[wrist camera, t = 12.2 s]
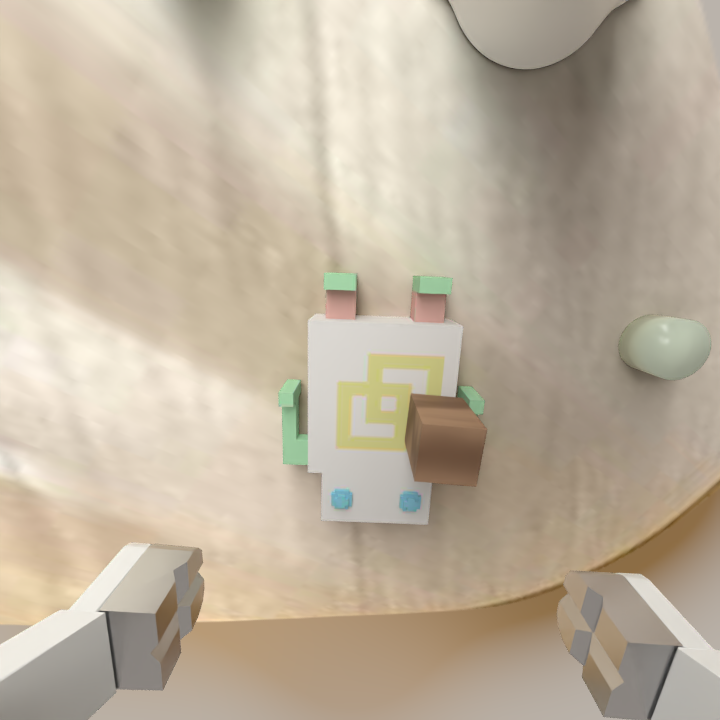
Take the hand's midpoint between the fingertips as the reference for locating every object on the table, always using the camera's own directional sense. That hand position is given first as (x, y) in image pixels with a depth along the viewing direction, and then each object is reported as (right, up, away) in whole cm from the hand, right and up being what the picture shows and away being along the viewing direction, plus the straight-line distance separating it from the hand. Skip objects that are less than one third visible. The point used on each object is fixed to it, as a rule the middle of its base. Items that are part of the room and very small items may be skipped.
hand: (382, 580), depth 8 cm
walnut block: (+7, -1, +27) cm, 27 cm away
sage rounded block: (+30, +7, +30) cm, 43 cm away
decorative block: (+2, +1, +32) cm, 33 cm away
